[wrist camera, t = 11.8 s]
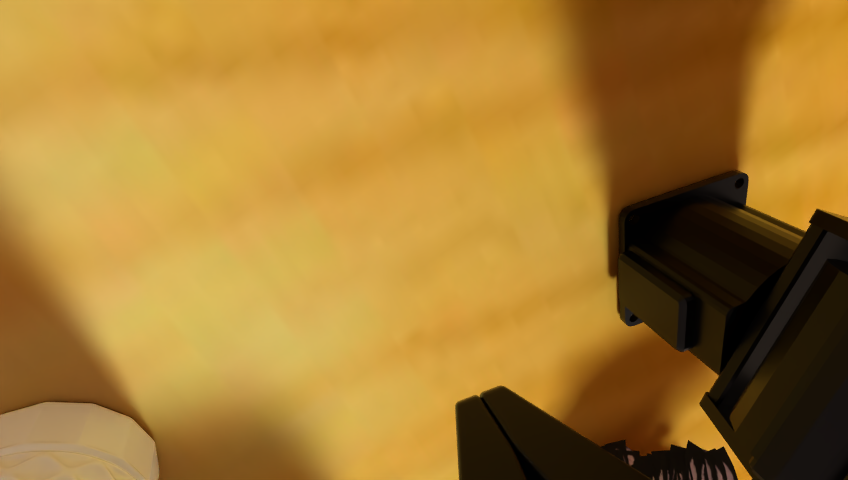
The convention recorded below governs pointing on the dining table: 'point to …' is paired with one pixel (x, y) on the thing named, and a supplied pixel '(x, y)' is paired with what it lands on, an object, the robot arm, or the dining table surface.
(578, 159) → the dining table surface
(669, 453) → the decorative flower
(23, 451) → the white cup
